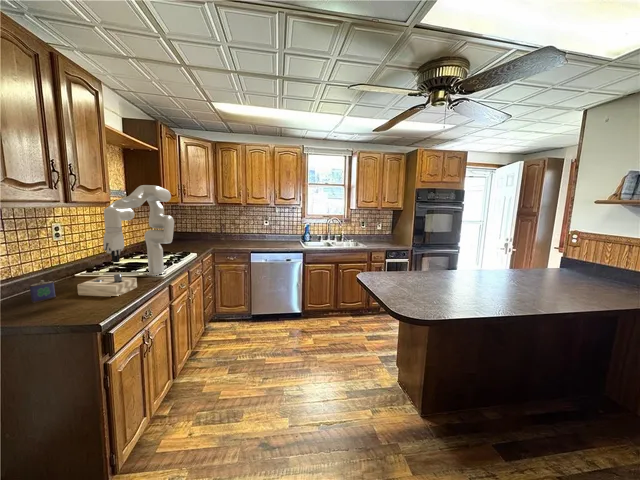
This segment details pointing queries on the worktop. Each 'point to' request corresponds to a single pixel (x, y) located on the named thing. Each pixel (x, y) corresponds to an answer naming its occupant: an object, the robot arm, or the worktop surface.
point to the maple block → (106, 287)
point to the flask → (42, 291)
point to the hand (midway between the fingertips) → (115, 262)
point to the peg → (117, 278)
